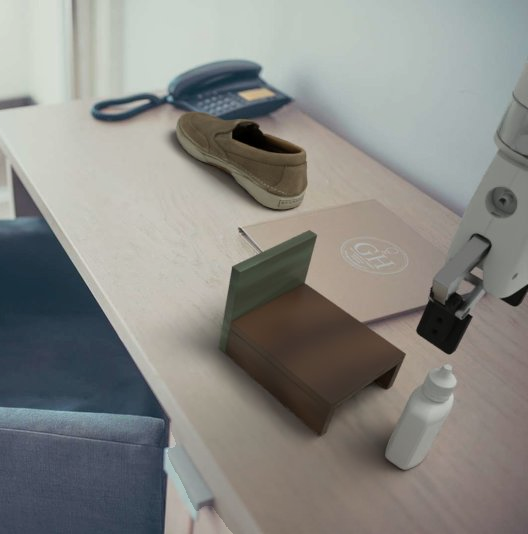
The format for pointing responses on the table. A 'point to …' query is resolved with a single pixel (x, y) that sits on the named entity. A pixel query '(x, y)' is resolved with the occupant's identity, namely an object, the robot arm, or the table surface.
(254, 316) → the shelf
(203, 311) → the table surface
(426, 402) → the eye dropper bottle
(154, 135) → the table surface
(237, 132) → the slip on shoe
